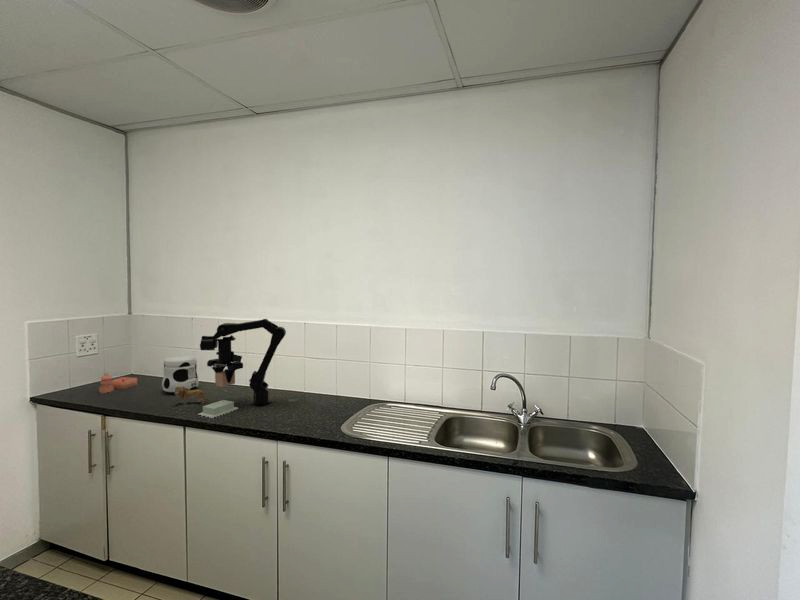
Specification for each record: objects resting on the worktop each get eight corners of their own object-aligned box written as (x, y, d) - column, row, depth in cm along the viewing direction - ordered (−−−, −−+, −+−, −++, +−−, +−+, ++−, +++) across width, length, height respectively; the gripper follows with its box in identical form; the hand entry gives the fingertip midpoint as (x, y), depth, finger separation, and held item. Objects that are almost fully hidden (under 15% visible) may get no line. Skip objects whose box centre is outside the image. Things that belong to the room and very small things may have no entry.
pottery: (123, 384, 226) (122, 367, 225) (137, 385, 224) (136, 368, 223) (93, 393, 208) (92, 374, 207) (108, 394, 206) (107, 375, 206)
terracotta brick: (234, 383, 190) (234, 371, 190) (222, 386, 184) (222, 374, 184) (227, 382, 192) (227, 370, 192) (215, 385, 186) (215, 373, 186)
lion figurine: (173, 406, 187) (173, 387, 186) (176, 403, 192) (175, 385, 191) (207, 403, 192) (207, 385, 191) (209, 400, 197) (208, 382, 196)
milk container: (164, 388, 217) (163, 356, 216) (199, 385, 224) (198, 354, 223) (160, 397, 201) (159, 362, 200) (198, 393, 208) (197, 359, 207)
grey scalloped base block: (238, 409, 183) (238, 401, 183) (212, 418, 171) (212, 410, 171) (224, 406, 187) (224, 398, 187) (198, 415, 175) (198, 407, 174)
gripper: (252, 348, 190) (252, 380, 191) (225, 345, 199) (226, 376, 200) (232, 352, 180) (233, 386, 181) (206, 349, 189) (206, 381, 190)
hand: (225, 382), depth 188 cm, fingers closed on terracotta brick, 5 cm apart
